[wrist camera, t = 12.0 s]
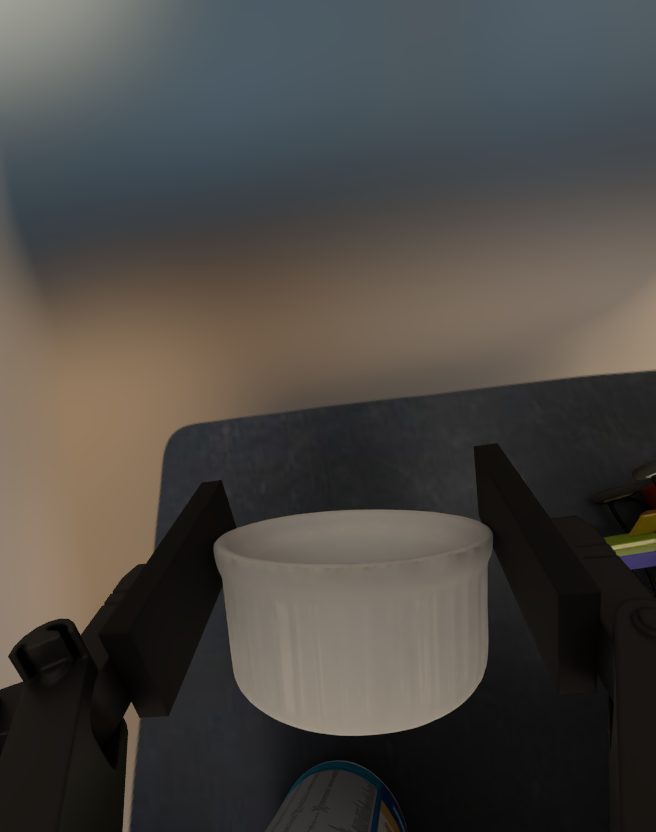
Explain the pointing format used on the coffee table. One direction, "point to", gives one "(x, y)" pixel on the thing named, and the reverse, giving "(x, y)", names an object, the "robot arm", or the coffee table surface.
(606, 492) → the toy wheeled cart
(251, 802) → the coffee table surface
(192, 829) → the coffee table surface
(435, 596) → the ramekin
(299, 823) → the beverage bottle
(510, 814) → the coffee table surface
